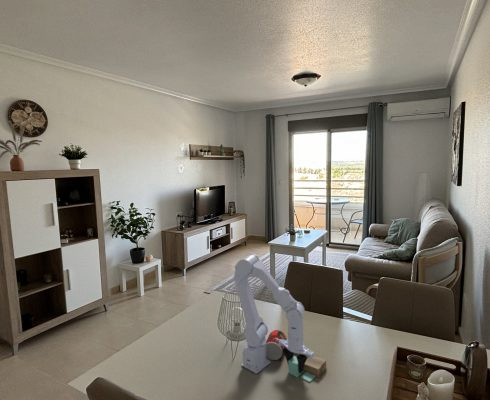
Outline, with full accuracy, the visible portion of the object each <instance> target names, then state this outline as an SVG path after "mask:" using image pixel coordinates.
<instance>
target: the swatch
mask: <svg viewBox="0 0 490 400" xmlns="http://www.w3.org/2000/svg"><path fill="white" fill-rule="evenodd" d="M315 378H316V376H315V375H313V374H310V373H308V372H303V373H302V374H301V375H300V379H302V380H304V381H306V382H309V383H311V382H312V381H313V380H314V379H315Z"/></svg>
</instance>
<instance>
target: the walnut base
mask: <svg viewBox="0 0 490 400" xmlns="http://www.w3.org/2000/svg"><path fill="white" fill-rule="evenodd" d="M326 369H327V360H326V359H324V358H321V357H318V356H316V355H314V357H313V358H312V359H309V357H308V358H307V360H306V362H305V365H304V369H303V373H305V372H308V373H310V374H313V375H315V378H320V376H322V374H323V372H324V371H325V370H326Z"/></svg>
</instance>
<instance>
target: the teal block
mask: <svg viewBox="0 0 490 400" xmlns="http://www.w3.org/2000/svg"><path fill="white" fill-rule="evenodd" d="M288 363H289V366H288V374H289V375H292V376H294V377H295V378H299V377H301V376H302V375H303V374H304V371H302V372H301V373H299V370H298V361H297V357H296V356H294V357H292V358H291V359H290V360H289V361H288ZM288 363H287V364H288Z"/></svg>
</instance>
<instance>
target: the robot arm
mask: <svg viewBox="0 0 490 400" xmlns="http://www.w3.org/2000/svg"><path fill="white" fill-rule="evenodd" d="M249 278H258V279H259V280H260V281H261V282H262V283H263V284H264V285H265V286H266V287H267V288H268V289H269V290H270V291H271V293H272V295H273V297H272V298H273V299H274V301H275V302H276V303H277V304H278V305H279V306H280V308H281V309H282V310H283V312H285V313H286V314H285V318H286V319H287V340H283V339H281V340H279V346H284V350H283V354H282V355H283V356H284V357H285V359H286V362H287V365H288V367H289V363H288V361H289V360H290V359H291V358H292V357H293V355H294V353H298V354H300V355H298V356H297V361H298V370H299V373H301V372H302V371H303V369H304V365H305V362H306V360H307V358H308V357H309V359H312V358H313V357H314V356H315V351H313V350H310V349H309V348H308V347H306V346H305V345H304V318H303V316H304V314H305V306H304V305H303V304H302V303H303V302H300V301H297V300H296V299H295V298H293V296H292V295H291V293H290V292H291V291H289V289H286V288H285V287H281V286H280V285H279V284H278V282H277V281H276V280H275V279H274V277H273V276H272V275H271V273H270V272H269V271H268V269H267V268H266V266H265V264H264V263H263V261H262V260H261V259H260V258H259V256H258V255H257V254H255V253H249V254H247V255H246V256H245V257H243V258H242V259H240V260H239V261H238V262H237V263H236V264H235V265H234V274H233V281H234V284H235V288H236V292H237V295H238V299H239V302H240V305H241V308H242V311H243V315H244V318H245V327H244V331H245V342H246V344H247V345H246V346H245V348H243V351H242V363H241V366H242V367H243V368H246V369H248V370H249V371H251V372H253V373H254V374H258V373H259V372H261V371H262V370H263V369H265V368H266V367H267V366H268V365H269V364H271V362H272V360H270V359H268V358H267V357H266V341H267V339H266V336H267V334H268V332H269V328H268V326H267V324H266V323H265V322H264V319H263V317H261V316H260V315H259V311H258V309H257V304H256V301H255V298H254V295H253V293H252V288H251V286H250V282H249ZM303 372H304V371H303Z"/></svg>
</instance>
